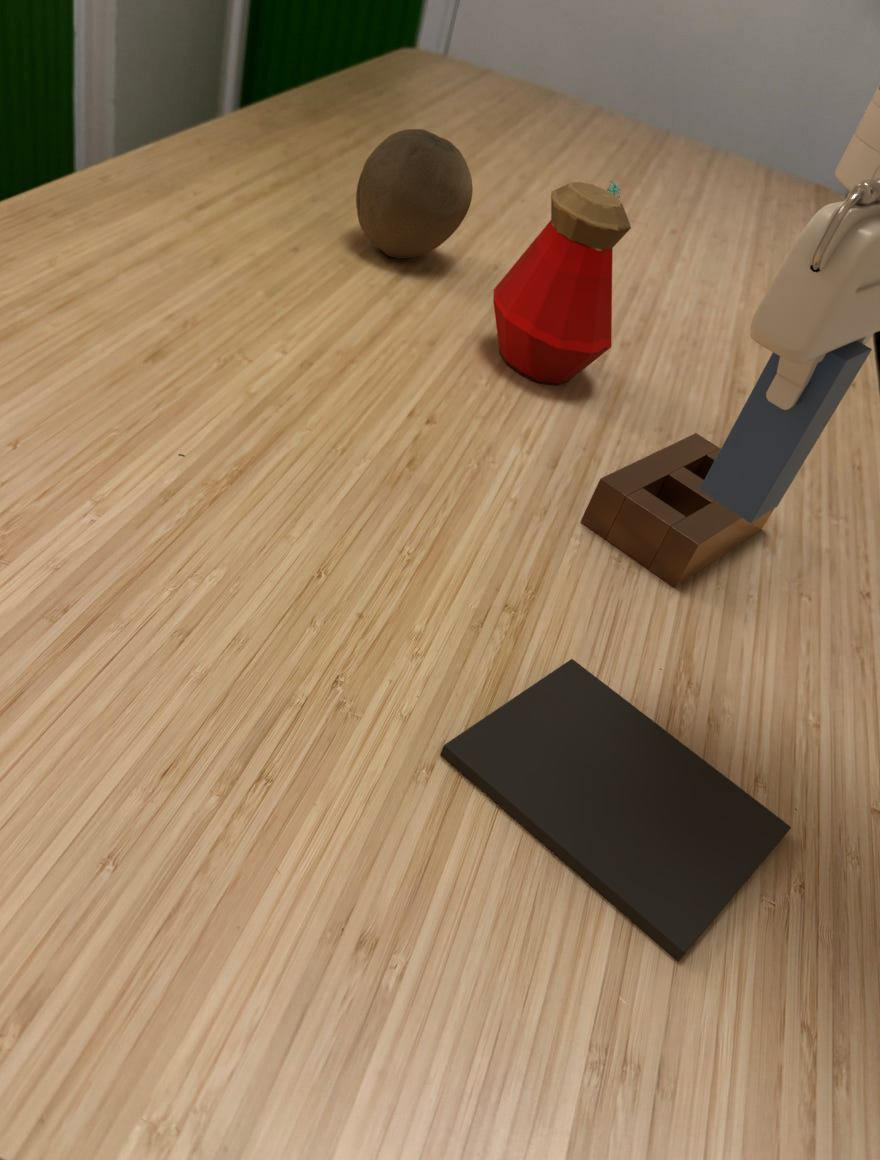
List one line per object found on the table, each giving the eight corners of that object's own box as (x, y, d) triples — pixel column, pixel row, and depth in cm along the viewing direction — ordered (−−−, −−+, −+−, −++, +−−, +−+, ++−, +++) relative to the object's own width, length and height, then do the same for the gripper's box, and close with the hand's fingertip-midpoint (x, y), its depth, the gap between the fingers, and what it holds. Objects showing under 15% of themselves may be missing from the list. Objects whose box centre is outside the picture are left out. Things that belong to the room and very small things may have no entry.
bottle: (615, 398, 121) (690, 230, 108) (525, 402, 114) (594, 223, 101) (541, 330, 130) (602, 168, 117) (453, 330, 123) (508, 158, 110)
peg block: (762, 529, 107) (786, 489, 104) (674, 588, 94) (698, 544, 91) (675, 472, 111) (696, 432, 108) (580, 522, 98) (600, 478, 95)
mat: (784, 835, 74) (791, 827, 73) (678, 961, 63) (685, 953, 62) (567, 667, 81) (572, 658, 81) (439, 754, 71) (443, 744, 70)
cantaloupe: (415, 287, 130) (450, 165, 120) (324, 240, 133) (351, 117, 124) (467, 265, 140) (503, 151, 131) (381, 222, 144) (410, 107, 134)
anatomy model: (572, 165, 174) (586, 175, 169) (614, 176, 176) (629, 185, 171) (562, 197, 177) (575, 208, 171) (603, 207, 179) (618, 218, 174)
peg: (777, 506, 71) (872, 348, 64) (750, 523, 69) (846, 360, 61) (726, 474, 73) (813, 316, 65) (698, 489, 70) (786, 326, 63)
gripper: (914, 211, 49) (771, 458, 57) (1027, 186, 62) (898, 389, 71) (799, 156, 51) (679, 401, 60) (932, 143, 65) (818, 345, 74)
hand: (798, 394), depth 66 cm, fingers closed on peg, 4 cm apart
